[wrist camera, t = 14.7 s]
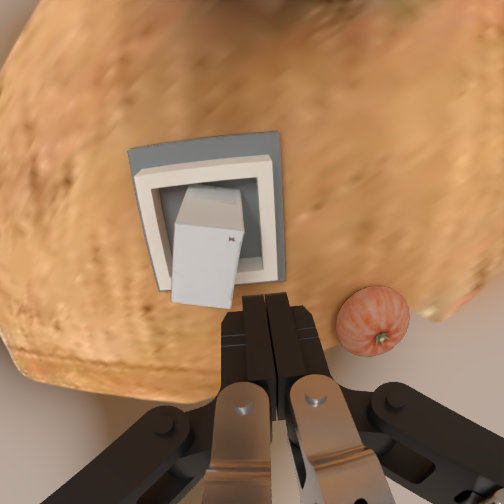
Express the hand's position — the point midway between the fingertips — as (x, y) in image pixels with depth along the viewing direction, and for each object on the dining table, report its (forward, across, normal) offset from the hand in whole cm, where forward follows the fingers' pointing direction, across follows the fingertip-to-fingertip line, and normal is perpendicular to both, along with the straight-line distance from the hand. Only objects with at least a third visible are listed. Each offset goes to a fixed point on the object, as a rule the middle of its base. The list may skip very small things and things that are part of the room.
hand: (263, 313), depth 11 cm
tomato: (+25, -16, +23) cm, 38 cm away
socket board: (+26, +4, +7) cm, 27 cm away
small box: (+24, +4, +7) cm, 26 cm away
